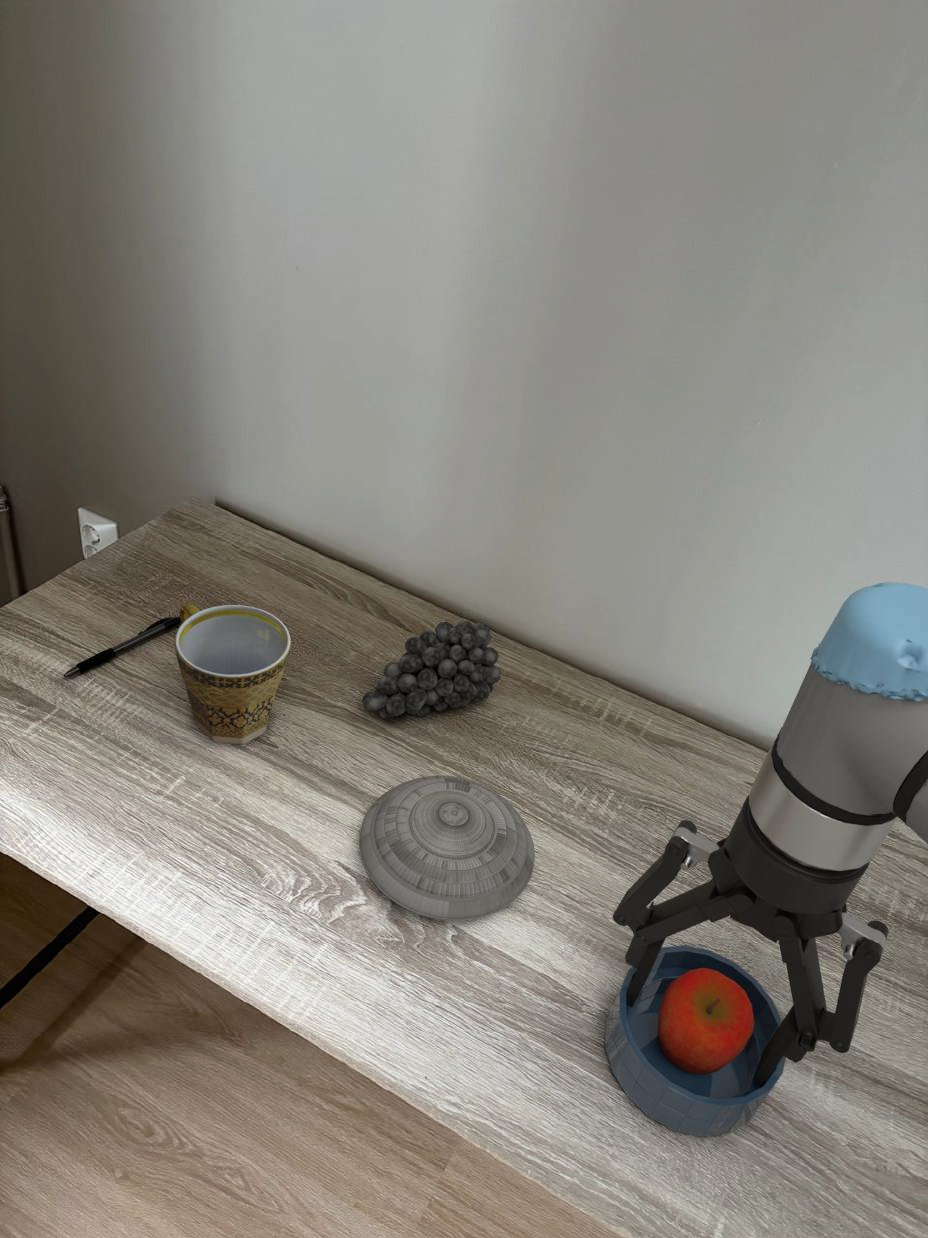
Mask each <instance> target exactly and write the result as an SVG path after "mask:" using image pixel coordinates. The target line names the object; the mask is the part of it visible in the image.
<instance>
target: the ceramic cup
mask: <svg viewBox="0 0 928 1238" xmlns="http://www.w3.org/2000/svg"><path fill="white" fill-rule="evenodd" d="M179 616H180V619H181V623H180V625H179V626H178V629H177V630H176V632H175V635H174V650H175V655H176V661H177V663H178V669H179V672H180V675H181V677H182V681H183V684H184V685H185V690H186V694H187V697H188V701H189V705H190V707H191V711H192V716H193V719H194V722H195V725H196V726H197V727H198V728H199V729H200V730H201V731H202V732H203V733H204V734H205V735H206V736H207V737H208V738H209V739H210V740H211V741H212V742H214V743H220V744H231V745H246V744H247V743H249V742H251V741H252V740H255V739H256V738H258V737H260V736H262V735H264V734H265V732H266V730H267V727H268V724H269V721H270V720H269V719H270V716H271V712H272V708H273V704H274V700H275V698H276V694H277V690H278V688H279V687H280V686H279V685H280V683H281V681H282V678H283V676H284V671H285V669H286V665H287V662H288V658H289V653H290V650H291V644H292V641H291V635H290V632H289V629H288V628H287V627H286V625H285V624H284V623H283V622H282V621H281V620H280V618H278V617H277V616H276V615H274V614H272V613H270V612H268V611H266V610H263V609H260V608H257V607H253V606H248V605H240V604H225V605H217V606H212V607H209V608H205V609H202V610H200V609H199V608H197V607H196V606H194V605H193V604H187V603H186V604H184V605H182V606H181V607H180V609H179Z"/></svg>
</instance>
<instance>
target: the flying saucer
mask: <svg viewBox="0 0 928 1238" xmlns="http://www.w3.org/2000/svg"><path fill="white" fill-rule="evenodd" d="M364 815H365V816H364V818H363V820H362V822H361V825H360V828H359V835H358V849H359V856H360V859H361V862H362V864H363V867H364V870H365V871H366V873H367V876H368V877H369V878H370V879H371V881H372V882H373V883H374V885H375V886H376V887H377V889H379V890H380V892H382V893H383V894H384V895H385V896H386V898H388V899H390V900H391V901H393V902H394V903H395V904H396V905H398V906H400V907H402V908H403V909H406V910H407V911H410V912H412V913H415V914H417V915H420V916H423V917H427V918H430V919H434V920H435V919H436V920H441V921H452V922H453V921H459V922H460V921H470V920H476V919H480V918H484V917H488V916H491V915H493V914H495V913H498V912H499V911H501V910H504V908H506V907H508V906H509V905H511V904H512V903H513V902H515V901H516V900H517V899H518V898H519V896H521V894H522V893H523V892H524V890H525V889H526V888H527V886H528V885H529V882H530V880H531V879H532V875H533V872H534V868H535V861H536V853H535V845H534V841H533V838H532V834H531V832H530V830H529V828H528V826H527V824H526V822H525V820H524V819H523V817H522V815H521V814H520V813H519V811H518V810H517V809H516V808H515V807H514V806H513V805H512V804H511V803H510V802H509V801H508V800H507V799H505V798H504V797H503V796H502V795H500V794H499V793H498V792H496V791H495V790H493V789H492V788H489V787H488V786H486V785H484V784H481V783H479V782H477V781H474V780H472V779H468V778H464V777H459V776H454V775H453V776H452V775H428V776H422V777H416V778H412V779H410V780H407V781H405V782H402V783H400V784H398V785H396V786H394V787H392V788H391V789H389V790H388V791H386V792H384V793H383V794H382V795H381V796H380V797H378V799H376V800H375V801H374V803H373V804H372V805H371V806H369V808H368V810H367V811H366V814H364Z"/></svg>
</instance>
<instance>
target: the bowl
mask: <svg viewBox="0 0 928 1238" xmlns="http://www.w3.org/2000/svg"><path fill="white" fill-rule="evenodd" d="M699 968H707V969H712V970H716V971H718V972H720V973H721V974H723V975H725V976H726V977H728V978H730V979H731V980H733V981H735V982H736V983H737V984H738V985H739V986H740V987H741V988H742V989H743V990H744V991H745V992H746V994H747V996H748V998H749V1000H750V1002H751V1004H752V1010H753V1018H754V1026H753V1032H752V1035H751V1037H750V1039H749V1040H748V1042H747V1044H746V1046H745V1048H744V1049H743V1050H742V1051H741V1052H740V1053H739V1055H738V1056H737V1057H736V1058H735V1059H734V1060H733V1061H731V1062H730V1063H728V1064H727V1065H726V1066H724V1067H723V1068H721V1069H720V1070H718V1071H716V1072H713V1073H709V1074H692V1073H688V1072H686V1071H684V1070H682V1069H680V1068H678V1067H676V1066H675V1065H674V1064H672V1063H671V1062H670V1061H669V1060H667V1058H666V1057H665V1056H664V1054H663V1052H662V1050H661V1048H660V1045H659V1038H658V1016H659V1010H660V1006H661V1002H662V999H663V997H664V995H665V992H666V990H667V988H668V987H669V986H670V984H671V983H672V982H673V981H675V980H676V979H677V978H679V977H680V976H682V975H684V974H685V973H687V972H688V971H690V970H694V969H699ZM636 971H637V969H636V968H635V967H633V966H631V967H630V968H629V969H628V970H627V972H626V973H625V975H624V978H623V981H622V983H621V985H620V987H619V990H618V992H617V994H616V996H615V999H614V1001H613V1002H612V1003H613V1004H612V1006H611V1008H610V1011H609V1013H608V1016H607V1019H606V1021H605V1034H604V1035H605V1037H604V1038H605V1039H604V1041H605V1042H604V1043H605V1044H604V1046H605V1047H604V1048H605V1051H606V1054H607V1058H608V1061H609V1065H610V1068H611V1071H612V1073H613V1075H614V1078H616V1080H617V1082H618V1083H619V1085H620V1087H621V1089H623V1091H624V1093H625V1094H626V1096H627V1097H628V1099H629V1100H631V1102H632V1103H634V1104H635V1105H636V1106H637V1107H638V1108H639V1109H640V1110H641V1111H642V1112H644V1114H646V1116H647V1117H649V1118H650V1119H652V1120H654V1121H656V1122H657V1123H659V1124H661V1125H663V1126H665V1127H667V1128H669V1129H671V1130H673V1131H675V1132H678V1133H683V1134H686V1135H687V1134H689V1135H692V1136H697V1137H712V1136H719V1135H720V1136H721V1135H727V1134H730V1133H732V1132H734V1131H736V1130H737V1129H739V1128H741V1127H743V1126H745V1125H746V1124H747V1123H749V1122H750V1121H751V1120H752V1118H753V1117H754V1116H755V1114H756V1113H757V1112H758V1110H759V1109H760V1107H761V1106H762V1104H763V1103H764V1102H765V1100H766V1098H767V1097H768V1096H769V1094H770V1093H771V1091H772V1090H773V1088H774V1087H775V1085H777V1082H778V1081H779V1080H780V1079H781V1077H782V1076H783V1074H784V1070H785V1065H786V1061H787V1058H786V1057H785V1056H783V1057H782V1059H781V1060H780V1062H779V1063H778V1065H777V1066H776V1068H775V1069H774V1071H773V1072H772V1074H771V1075H770V1077H769V1078H768V1079H767V1081H766V1082H765V1084H764V1085H763V1087H761V1086H759V1085H757V1084H756V1083H754V1082H752V1079H753V1077H754V1074H755V1072H756V1069H757V1066H758V1064H759V1061H760V1058H761V1056H762V1053H763V1051H764V1049H765V1048H766V1046H767V1044H768V1043H769V1041H770V1040H771V1038H772V1037H773V1035H774V1034H775V1032H776V1031H777V1029H778V1027H779V1026H780V1024H781V1023H782V1021H783V1019H782V1016H781V1015H780V1012H779V1011H778V1009H777V1006H776V1004H775V1002H774V1000H773V999H772V998H771V996H770V995H769V994H768V992H767V991H766V990H765V988H764V987H763V985H761V983H759V981H758V980H757V979H756V978H755V977H754V976H752V974H750V973H749V972H748V971H746V970H745V968H742V967H741V966H740V965H739V964H738V963H737V962H735V961H733V960H732V959H729V958H727V957H725V956H723V955H720V953H719V954H718V953H717V952H714V951H712V950H710V949H705V948H700V947H695V946H690V945H685V944H684V945H673V946H662V948H661V950H660V952H659V954H658V957H657V959H656V961H655V963H654V965H653V967H652V970H651V972H650V974H649V976H648V978H647V980H646V982H645V984H644V986H643V988H642V990H641V992H640V994H639V996H638V998H637V999H636V1001H635V1003H634V1005H633V1007H630V1006H628V1005H627V1004H626V994H627V992H628V989H629V987H630V985H631V983H632V980H633V978H634V976H635V974H636Z"/></svg>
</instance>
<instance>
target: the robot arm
mask: <svg viewBox="0 0 928 1238" xmlns="http://www.w3.org/2000/svg"><path fill="white" fill-rule="evenodd" d="M898 819H900V821H902V822H903V824H904V825H905V826H907V827H908V828H910V830H912V831H913V832H914V833H915V834H916V835H917V836H918V837H919V838H920V839H921V840H922V841H923V842H924V843H925V844H926V845H928V588H927V587H925V586H921V585H917V584H911V583H906V582H878V583H875V584H873V585H870V586H864V587H861V588H859V589H857V590H855V591H854V592H853V593H851V594H850V595H849V596H848V597H847V598H846V599H845V601H843V603H842V605H841V606H840V608H839V610H838V612H837V614H836V615H835V617H834V619H833V621H832V622H831V624H830V626H829V628H828V629H827V630H826V633H825V634H824V636H823V638H822V639H821V641H820V643H818V645H817V646H816V647H815V648H814V649H813V651H812V653H811V656H810V664H809V667H808V668H807V671H806V674H805V675H804V678H803V680H802V682H801V685H800V686H799V689H798V690H797V693H796V695H795V698H794V700H793V703H792V704H791V706H790V709H789V711H788V714H787V715H786V718H785V720H784V722H783V725H782V726H781V727H780V729H779V731H778V733H777V734H776V737H775V739H774V741H773V742H772V743H771V744H770V747H769V749H768V751H767V753H766V755H765V757H764V760H763V762H762V764H761V766H760V768H759V769H758V772H757V773H756V777H755V779H754V781H753V783H752V785H751V788H750V791H749V794H748V795H747V796H746V798H745V799H744V802H743V804H742V806H741V808H740V811H739V813H738V814H737V816H736V819H735V821H734V823H733V825H732V827H731V829H730V831H729V833H728V835H727V836H726V837H724V838H722V839H719V840H718V841H717V842H714V841H712V840H709V839H707V838H705V837H703V836H701V835H699V834H697V833H698V828H697V825H696V824H695V823H694V822H693V821H691V820H688V819H682V820H680V821H679V823H678V825H677V827H676V828H675V830H674V832H673V833H672V835H671V837H670V839H669V840H668V841H667V844H666V845H665V847H664V852H662V854H661V855H660V856H659V857H658V858H657V859H656V860H655V861H654V862H653V863H652V865H651V866H649V868H648V869H646V871H644V873H643V874H641V876H640V877H639V878H638V879H637V880H636V881H635V882H634V883H633V884H632V885H630V887H629V888H628V890H627V891H626V892H625V894H624V896H623V897H622V899H621V900H620V902H619V903H618V905H617V907H616V909H615V910H614V912H613V913H612V920H613V921H614V923H615V924H617V925H618V926H620V927H628V928H629V929H630V930H631V932H632V935H633V936H632V939H631V942H630V944H629V947H628V949H627V951H626V954H625V956H624V960H625V963H626V964H628V965H629V966H631V967H632V966H633V967H635V968H636V969H637V971H636V974H635V976H634V978H633V980H632V983H631V985H630V987H629V989H628V992H627V994H626V1004H627V1005H628V1006H630V1007H633V1005H634V1003H635V1001H636V999H637V998H638V996H639V994H640V992H641V990H642V988H643V986H644V984H645V982H646V980H647V978H648V976H649V974H650V972H651V970H652V967H653V965H654V963H655V961H656V959H657V957H658V954H659V952H660V950H661V948H662V947H664V944H665V941H666V939H667V938H668V937H671V936H673V935H676V934H678V933H681V932H683V931H685V930H688V929H690V928H692V927H695V926H697V925H700V924H703V923H705V922H708V921H709V922H710V923H716V922H719V921H720V920H723V919H725V918H728V917H729V918H730V919H731V920H733V921H735V922H737V923H739V924H740V925H743V926H746V927H750V928H752V929H753V930H755V931H756V932H757V933H759V934H760V935H761V936H762V937H764V938H765V939H768V940H769V941H770V942H773V943H774V944H777V942H778V946H779V950H780V958H781V962H782V963H783V964H785V967H786V972H787V977H788V982H789V989H790V994H791V999H792V1005H791V1007H790V1008H789V1010H788V1012H787V1013H786V1015H785V1016H784V1018H783V1019H782V1023H781V1024H780V1026H779V1027H778V1029H777V1031H776V1032H775V1034H774V1035H773V1037H772V1038H771V1040H770V1041H769V1043H768V1044H767V1046H766V1048H765V1049H764V1051H763V1053H762V1056H761V1058H760V1061H759V1064H758V1066H757V1069H756V1072H755V1074H754V1077H753V1079H752V1082H754V1083H756V1084H757V1085H759V1086H761V1087H763V1085H764V1084H765V1082H766V1081H767V1079H768V1078H769V1077H770V1075H771V1074H772V1072H773V1071H774V1069H775V1068H776V1066H777V1065H778V1063H779V1062H780V1060H781V1059H782V1057H783V1056H785V1057H786V1059H788V1060H790V1061H791V1062H793V1063H795V1064H796V1063H799V1062H801V1061H802V1060H803V1059H804V1058H805V1056H806V1054H807V1053H812V1052H814V1051H815V1049H816V1046H817V1043H818V1041H822V1042H827V1043H828V1044H829V1046H830V1049H832V1050H833V1051H835V1052H837V1053H840V1054H846V1053H848V1052H849V1051H850V1047H851V1044H852V1041H853V1037H854V1035H855V1032H856V1027H857V1024H858V1021H859V1016H860V1011H861V1007H862V1002H863V998H864V993H865V988H866V984H867V979H868V975H869V973H870V972H871V971H872V970H873V969H874V968H875V967H876V966H877V965H878V964H879V963H880V961H881V958H882V955H883V952H884V949H885V946H886V942H887V939H888V935H889V927H888V926H887V924H886V923H884V922H883V921H880V920H878V919H877V920H876V919H875V920H869V922H867V924H866V923H864V922H863V921H862V920H860V919H858V918H857V917H855V916H853V915H852V914H850V913H849V912H848V907H847V901H848V899H850V896H851V895H852V893H853V891H854V890H855V888H856V887H857V885H858V883H859V882H860V881H861V879H862V877H863V875H864V874H865V873H866V872H867V869H868V868H869V866H870V864H871V861H872V860H873V859H874V858H875V857H876V856H877V854H878V852H879V850H880V849H881V847H882V846H883V844H884V843H885V841H886V839H887V837H888V836H889V835H890V832H891V831H892V829H893V828H894V826H895V825H896V823H897V822H898ZM699 863H707V867H708V869H709V872H710V875H711V879H710V880H709V881H707V882H705V883H702V884H700V885H697V886H696V887H693V888H691V889H689V890H687V891H684V892H681V893H680V894H678V895H675V896H673V897H671V898H669V899H667V900H665V901H662V902H660V903H658V904H654V903H655V902H654V900H656V898H657V897H658V896H659V895H660V894H661V893H662V892H663V891H664V890H665V889H666V888H667V887H668V886H669V885H670V884H671V883H672V882H673V881H674V880H675V879H676V878H677V876H678V874H679V873H680V871H681V870H682V871H688V870H689V869H690V868H695V867H696V866H697V865H698V864H699ZM834 934H838V935H839V937H840V938H841V943H840V948H841V950H842V951H843V953H842V954H843V955H842V956H843V958H844V959H846V963H845V966H844V969H843V972H842V976H841V981H840V986H839V990H838V997H837V1001H836V1005H835V1011H834V1012H833V1011H830V1010H828V1006H827V1001H826V996H825V990H824V989H825V988H824V984H823V978H822V970H821V965H820V959H819V958H820V957H819V954H818V953H819V952H818V947H817V940H816V938H821V937H826V936H831V935H834Z"/></svg>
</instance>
